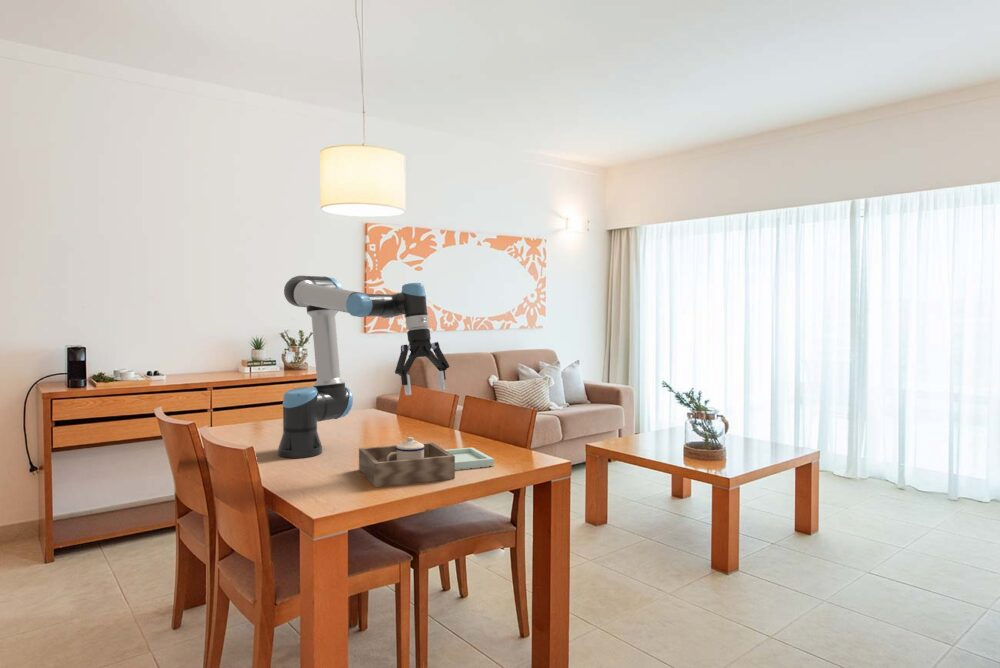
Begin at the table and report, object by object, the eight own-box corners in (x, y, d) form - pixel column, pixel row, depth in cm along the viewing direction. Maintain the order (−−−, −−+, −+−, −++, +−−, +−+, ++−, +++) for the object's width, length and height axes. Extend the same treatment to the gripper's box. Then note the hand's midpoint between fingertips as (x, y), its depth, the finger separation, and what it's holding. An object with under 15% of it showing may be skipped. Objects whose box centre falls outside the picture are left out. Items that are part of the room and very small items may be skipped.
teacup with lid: (421, 469, 208) (421, 434, 207) (427, 476, 199) (427, 439, 199) (384, 472, 204) (384, 436, 203) (389, 479, 195) (389, 441, 195)
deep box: (374, 487, 186) (374, 463, 186) (358, 469, 206) (358, 448, 206) (454, 478, 196) (454, 456, 196) (432, 462, 216) (432, 442, 216)
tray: (448, 470, 206) (448, 463, 206) (430, 458, 223) (430, 451, 223) (493, 466, 212) (493, 458, 212) (472, 454, 230) (472, 447, 230)
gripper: (391, 329, 200) (399, 396, 199) (454, 326, 217) (462, 387, 215) (379, 332, 206) (387, 397, 205) (441, 328, 222) (449, 389, 221)
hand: (425, 392), depth 210 cm, fingers open, 13 cm apart
